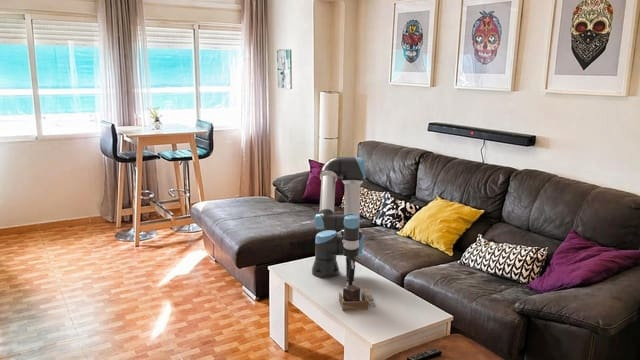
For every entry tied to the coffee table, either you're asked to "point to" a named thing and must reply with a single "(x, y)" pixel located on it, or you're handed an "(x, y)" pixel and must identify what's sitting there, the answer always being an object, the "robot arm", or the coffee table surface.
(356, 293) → the box
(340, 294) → the box
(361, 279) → the coffee table surface
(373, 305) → the scraper
